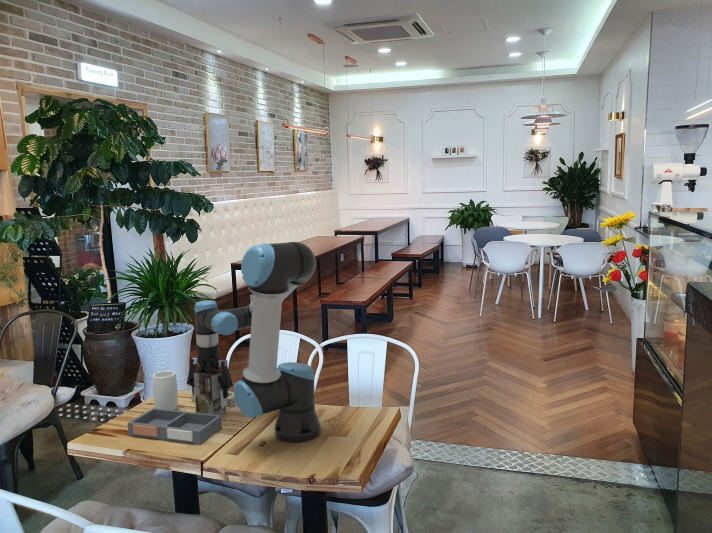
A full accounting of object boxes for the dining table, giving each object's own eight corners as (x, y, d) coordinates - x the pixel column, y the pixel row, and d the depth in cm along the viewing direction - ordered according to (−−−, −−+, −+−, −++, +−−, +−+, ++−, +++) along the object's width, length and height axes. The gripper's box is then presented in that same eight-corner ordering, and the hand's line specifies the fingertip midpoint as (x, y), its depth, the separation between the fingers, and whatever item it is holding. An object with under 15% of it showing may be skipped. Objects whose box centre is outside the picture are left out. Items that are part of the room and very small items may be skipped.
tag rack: (222, 427, 191) (221, 415, 190) (199, 445, 177) (198, 432, 177) (154, 419, 198) (153, 408, 198) (127, 436, 185) (126, 423, 185)
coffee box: (226, 414, 202) (225, 371, 200) (213, 420, 197) (211, 376, 195) (208, 409, 207) (206, 367, 205) (195, 415, 202) (193, 372, 199)
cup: (161, 406, 211) (159, 369, 209) (182, 407, 210) (180, 370, 208) (149, 415, 202) (147, 377, 201) (172, 416, 201) (169, 378, 199)
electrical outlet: (203, 386, 221) (241, 392, 214) (203, 396, 222) (241, 402, 214) (191, 392, 215) (229, 399, 207) (191, 402, 215) (230, 409, 208)
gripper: (241, 343, 199) (244, 404, 202) (186, 340, 205) (189, 398, 208) (230, 349, 192) (233, 412, 194) (173, 345, 198) (177, 405, 201)
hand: (210, 405), depth 201 cm, fingers closed on coffee box, 10 cm apart
